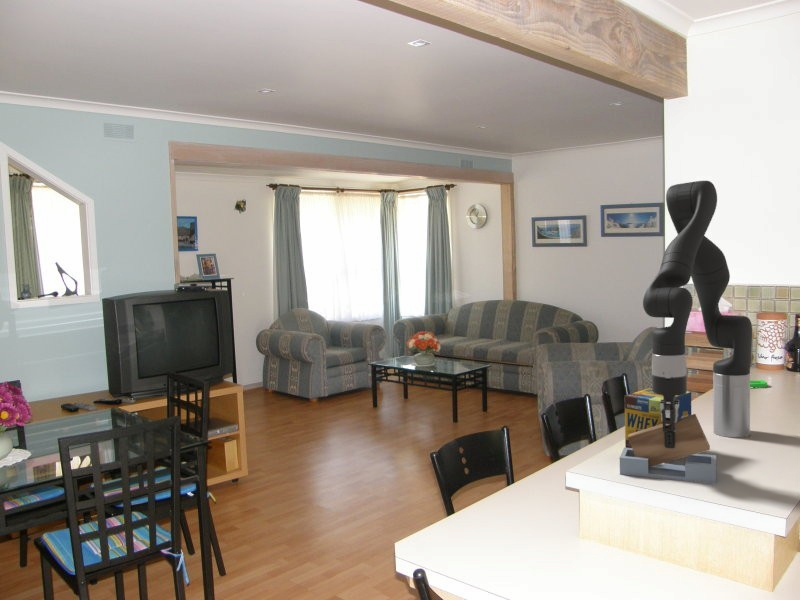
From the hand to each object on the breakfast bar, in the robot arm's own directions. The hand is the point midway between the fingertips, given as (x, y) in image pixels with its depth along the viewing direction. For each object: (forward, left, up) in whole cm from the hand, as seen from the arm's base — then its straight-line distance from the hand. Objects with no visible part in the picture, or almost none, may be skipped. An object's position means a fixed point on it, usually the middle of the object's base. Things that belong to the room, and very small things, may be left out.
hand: (670, 445), depth 159 cm
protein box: (-17, -4, -7) cm, 19 cm away
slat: (0, +1, -3) cm, 3 cm away
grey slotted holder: (0, -1, -7) cm, 7 cm away
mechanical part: (-107, +20, -7) cm, 109 cm away
